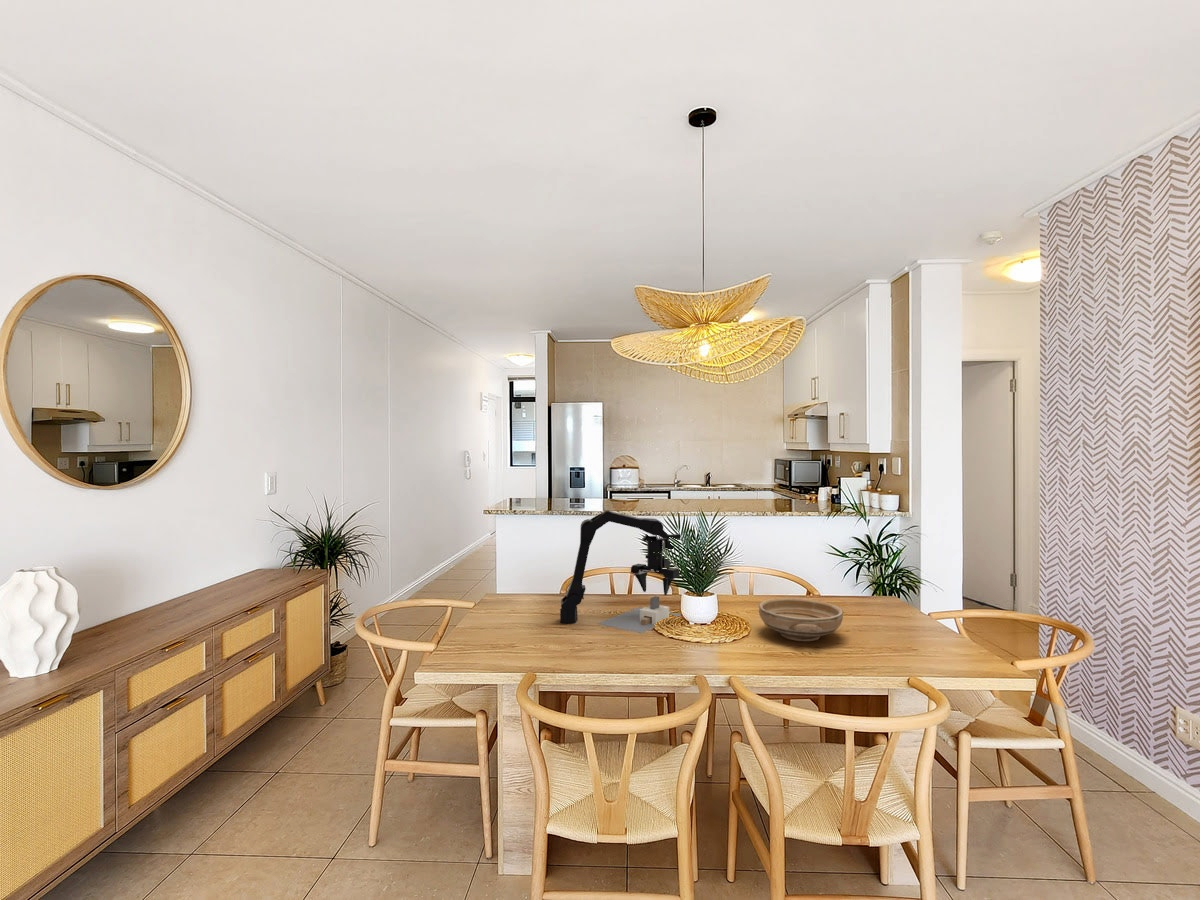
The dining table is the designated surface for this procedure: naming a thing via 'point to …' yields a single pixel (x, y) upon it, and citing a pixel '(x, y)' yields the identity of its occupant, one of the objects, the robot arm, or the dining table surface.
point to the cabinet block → (655, 611)
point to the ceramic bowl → (800, 617)
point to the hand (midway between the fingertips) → (655, 593)
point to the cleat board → (631, 621)
